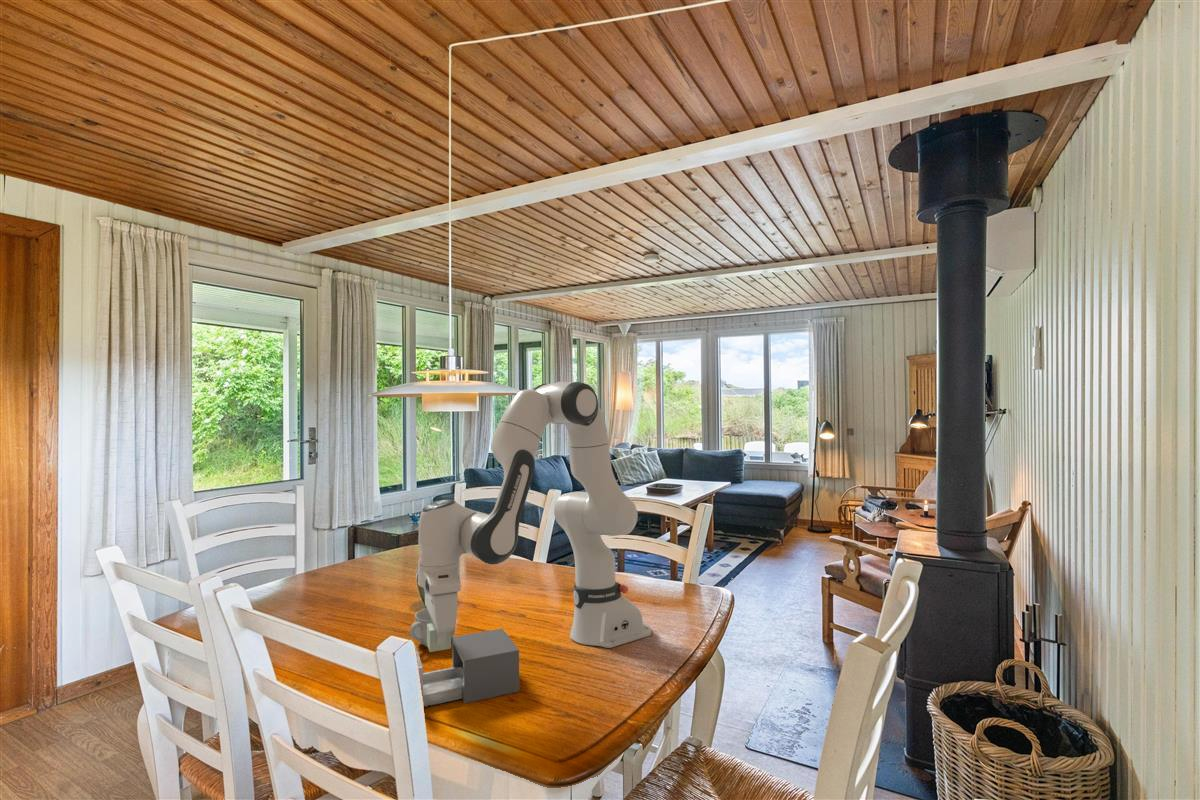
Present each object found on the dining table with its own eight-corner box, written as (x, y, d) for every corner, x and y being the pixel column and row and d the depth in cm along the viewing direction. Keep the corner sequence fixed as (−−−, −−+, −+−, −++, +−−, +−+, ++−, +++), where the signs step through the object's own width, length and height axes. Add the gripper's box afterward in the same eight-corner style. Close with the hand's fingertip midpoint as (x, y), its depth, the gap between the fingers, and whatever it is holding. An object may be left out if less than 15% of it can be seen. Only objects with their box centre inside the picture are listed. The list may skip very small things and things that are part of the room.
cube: (426, 644, 125) (426, 623, 125) (447, 641, 127) (447, 620, 127) (429, 652, 121) (429, 630, 121) (451, 648, 123) (451, 627, 123)
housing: (502, 665, 137) (502, 628, 137) (519, 691, 124) (519, 650, 124) (452, 675, 132) (452, 636, 132) (464, 703, 119) (464, 660, 119)
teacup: (441, 631, 159) (440, 603, 159) (464, 641, 152) (464, 611, 152) (395, 648, 148) (395, 617, 148) (419, 659, 141) (419, 626, 141)
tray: (463, 673, 132) (463, 637, 132) (474, 697, 121) (474, 657, 121) (410, 684, 127) (410, 646, 127) (417, 710, 116) (416, 668, 116)
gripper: (418, 565, 132) (418, 625, 132) (430, 589, 114) (430, 658, 113) (445, 562, 135) (445, 620, 135) (462, 585, 116) (462, 653, 116)
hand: (438, 638), depth 124 cm, fingers closed on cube, 4 cm apart
